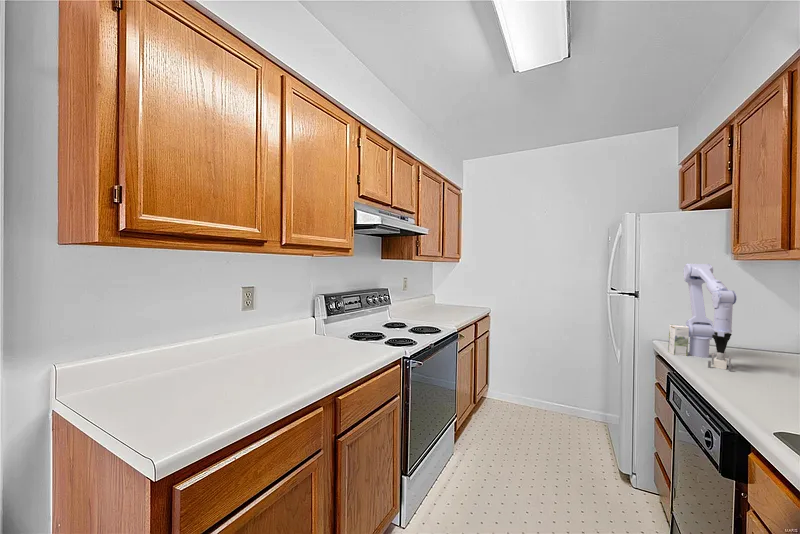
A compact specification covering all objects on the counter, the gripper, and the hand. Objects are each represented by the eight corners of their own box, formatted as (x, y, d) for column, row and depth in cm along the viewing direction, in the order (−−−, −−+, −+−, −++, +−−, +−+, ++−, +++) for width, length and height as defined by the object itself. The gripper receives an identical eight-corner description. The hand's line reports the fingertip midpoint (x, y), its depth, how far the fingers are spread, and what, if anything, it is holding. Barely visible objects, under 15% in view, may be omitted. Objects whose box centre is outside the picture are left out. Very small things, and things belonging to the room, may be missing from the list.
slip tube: (715, 363, 160) (715, 348, 159) (727, 365, 157) (728, 350, 157) (713, 367, 154) (714, 352, 154) (726, 369, 151) (727, 354, 151)
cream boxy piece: (712, 363, 161) (712, 353, 160) (730, 366, 156) (731, 356, 156) (711, 364, 158) (711, 354, 158) (730, 367, 154) (730, 357, 154)
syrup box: (681, 354, 177) (682, 324, 176) (687, 357, 171) (689, 326, 170) (667, 353, 178) (669, 323, 177) (673, 356, 172) (675, 326, 172)
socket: (708, 367, 154) (708, 360, 154) (731, 371, 149) (731, 364, 149) (707, 367, 153) (708, 361, 153) (731, 372, 148) (731, 365, 148)
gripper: (711, 316, 162) (710, 346, 163) (708, 319, 152) (707, 352, 152) (733, 318, 157) (731, 349, 158) (731, 321, 147) (730, 355, 147)
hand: (721, 351), depth 155 cm, fingers open, 7 cm apart
